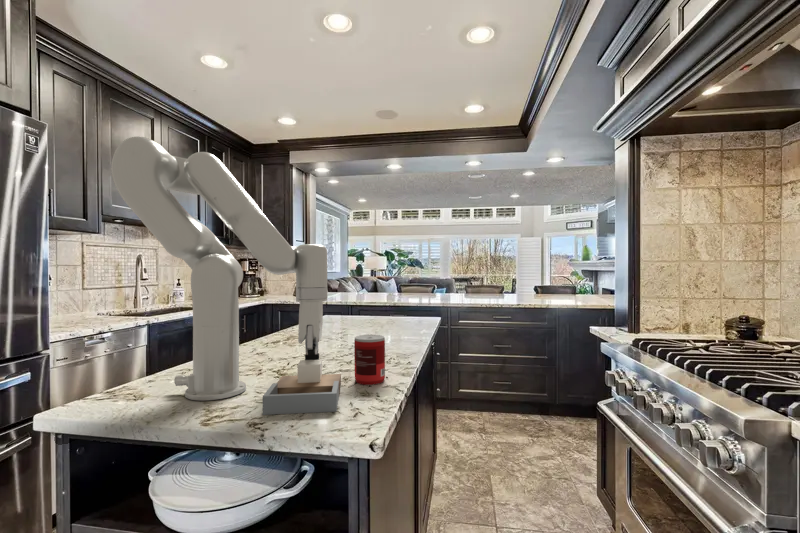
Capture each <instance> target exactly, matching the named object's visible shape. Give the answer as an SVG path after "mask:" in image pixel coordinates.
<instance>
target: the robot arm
mask: <svg viewBox="0 0 800 533" xmlns="http://www.w3.org/2000/svg"><path fill="white" fill-rule="evenodd" d="M110 167H111V176H112V180H113V183H114V185H115V188H116V190H117V192H118V194H119V195H120V197H121V199H123V201H124V202H125V204H126V205H127V206H128V207H129V208H130V210H132V212H133V213H134V214H135V215H136V216H137V218H139V220H140V221H141V222H142V223H143V225H144V226H145V227H146V229H147V230H149V232H150V233H151V234H152V235H153V236H154V237H155V238H156V240H157V241H158V242H159V243H160V244H161V246H162V247H163V248H164V250H165V251H166V252H167V253H169V254H170V255H171V256H173V257H175V258H177V259H181V260H183V262H185V264H186V265H187V266H188V267H189V268H190V270H191V274H190V290H191V300H192V373H190V374H189V375H184V374H181V375H180V374H179V375H175V376H174V380H173V382H174V384H175V387H177V386H179V387H182V386H186V387H187V389H186V390H184V397H185V398H186V399H188V400H192V401H202V402H203V401H215V400H216V401H217V400H223V399H228V398H231V397H235V396H238V395H240V394H242V393H244V392H245V391H246V389H247V383H246V382H244V381H241V380H240V338H239V337H240V308H239V307H240V306H239V305H240V304H239V287H240V285H241V284H242V282H243V279H244V271H243V267H242V266H241V263H239V261H238V260H237V259H236V258H235V256H233V254H232V253H231V252H230V251H229V250H228V249H227V247H226V246H225V245H224V244H223V243H222V242H221V241H220V239H219V238H218V237H217V236H216V235H215V234H214V232H213V231H212V230H210V228H208V226H206V225H205V224H203V223H202V222H200V221H198V220H197V219H195V218H194V217H193V216H192V215H191V214H190V213H189V212H188V211H187V210H186V208H184V207H183V206H182V205H181V203H180V202H179V201H178V200H177V198H176V197H175V196H174V195H173V194H172V193H171V191H175V192H179V193H181V192H182V193H185V194H193V195H199V196H200V197H201V198H202V199H203V200H204V202H206V203H207V205H208V206H209V207H210V209H211V210H212V211H214V213H215V214H216V215H217V216H218V217H219V218H220V220H221V221H222V222H223V224H225V226H226V228H228V229H229V230H230V231H231V232H233V233H234V234H235V236H237V238H238V239H239V241H241V243H242V244H243V245H244V246H245V247H246V249H247V250H248V251H249V252H250V253H251V254H252V255H253V256H254V258H255V259H256V260H257V262H258V263H259V264H260V265H261V266H262V267H263V268H264V270H266V271H267V272H269V273H270V274H273V275H277V276H278V275H280V276H281V275H287V274H293V273H294V274H295V302H299V311H298V336H297V338H298V339H297V340H298V341H297V342H298V343H299V345H300V344H302V343H304V342H305V343H304V344H305V347H304V348H305V354H304V360H320V353H319V342H320V341H321V339H322V335H323V322H324V319H323V316H324V315H323V314H324V311H323V306H324V304H323V303H324V302H327V301H328V249H327V247H326V246H325V245H323V244H317V243H313V244H312V243H306V244H300V245H297V246H295V245H293V246H292V245H290V243H289V242H288V241H287V240H286V238H285V237H284V236H283V235H282V234H281V233H280V232H279V230H278V229H277V228H276V226H274V225H273V224H272V222H271V220H269V219H268V217H267V216H266V215H265V213H263V211H262V209H261V208H260V206H259V205H258V204H257V203H256V201H255V199H254V198H252V196H251V195H250V194H249V193H248V192H247V191H246V190H245V188H244V187H243V186H242V185H241V183H240V182H239V181H238V179H236V177H235V176H234V175H233V174H232V172H231V171H230V170H229V169H228V167H226V165H225V164H224V163H223V162H222V161H221V160H220V159H219V158H218V157H217V156H215V155H214V154H212V153H210V152H206V151H198V152H197V151H196V152H195V153H192V154H190V155H189V156H188V158H186V157H181V156H175V155H171V154H170V153H169V152H168V151H167V149H165V148H164V147H163V146H162V145H161V144H159V143H158V142H156V141H155V140H153V139H150V138H147V137H144V136H130V137H128V138H126V139H124V140H122V141H121V142H120V144H118V146H117V147H116V149H115V151H114V153H113V156H112V160H111V166H110Z"/></svg>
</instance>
